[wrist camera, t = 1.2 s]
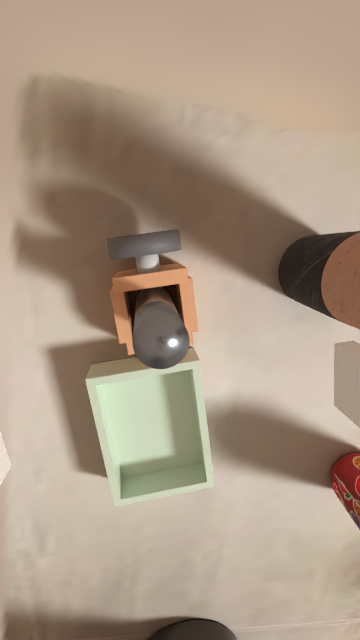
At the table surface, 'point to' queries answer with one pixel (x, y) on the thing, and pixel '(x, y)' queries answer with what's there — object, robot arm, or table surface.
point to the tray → (151, 428)
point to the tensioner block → (149, 279)
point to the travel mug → (325, 275)
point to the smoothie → (348, 484)
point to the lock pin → (158, 330)
